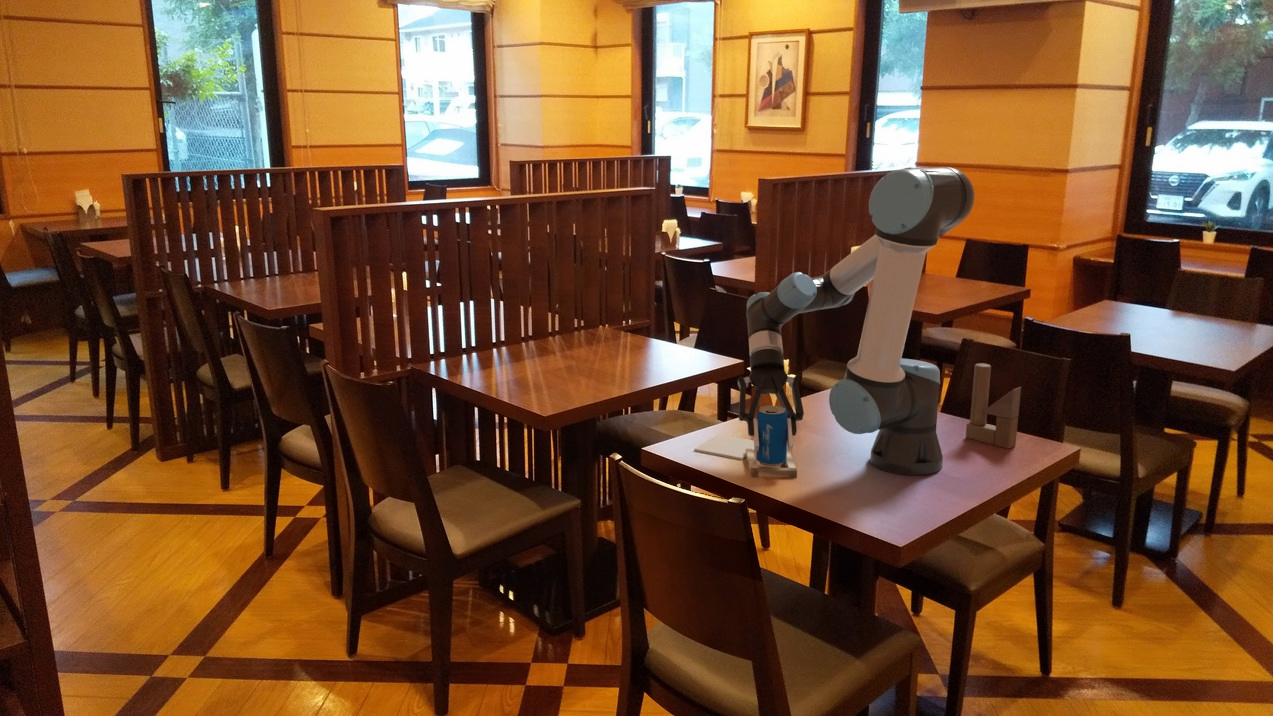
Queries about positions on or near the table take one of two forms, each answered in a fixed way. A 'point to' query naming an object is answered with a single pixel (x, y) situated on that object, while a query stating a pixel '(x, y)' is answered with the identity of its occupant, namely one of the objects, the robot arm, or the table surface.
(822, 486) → the table surface
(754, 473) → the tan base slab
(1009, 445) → the wooden block
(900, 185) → the robot arm
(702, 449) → the mat
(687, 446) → the table surface
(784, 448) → the beverage can
